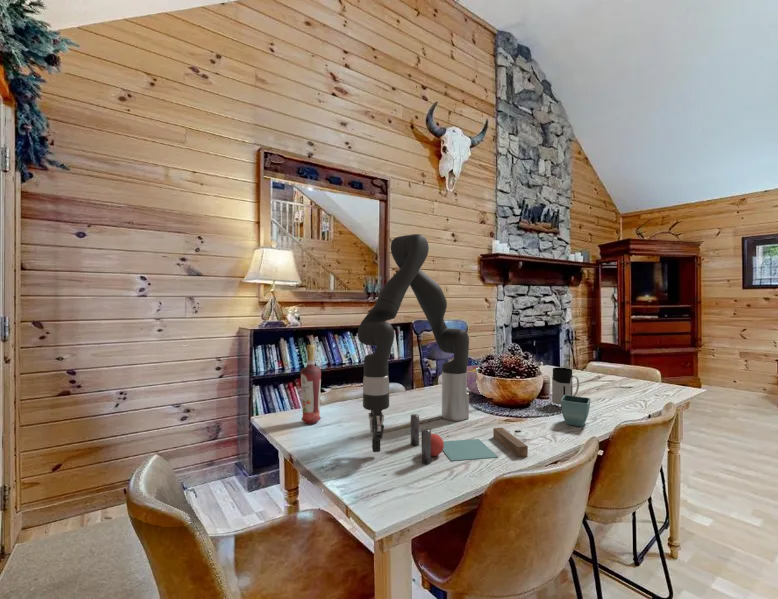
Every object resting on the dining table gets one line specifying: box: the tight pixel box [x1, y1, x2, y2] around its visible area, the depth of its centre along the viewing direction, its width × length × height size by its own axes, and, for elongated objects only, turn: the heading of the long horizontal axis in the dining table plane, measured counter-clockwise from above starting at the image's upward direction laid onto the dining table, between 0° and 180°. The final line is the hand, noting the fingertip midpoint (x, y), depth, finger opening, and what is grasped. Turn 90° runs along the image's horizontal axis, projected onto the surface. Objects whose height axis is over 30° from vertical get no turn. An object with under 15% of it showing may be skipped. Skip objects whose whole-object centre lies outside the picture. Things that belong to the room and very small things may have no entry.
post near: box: [421, 428, 432, 465], centre depth 109 cm, size 3×3×9 cm
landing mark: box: [442, 438, 499, 462], centre depth 118 cm, size 14×14×1 cm
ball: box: [431, 433, 444, 457], centre depth 114 cm, size 6×6×6 cm
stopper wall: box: [492, 427, 529, 458], centre depth 120 cm, size 3×16×3 cm, turn 10°
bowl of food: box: [467, 365, 480, 396], centre depth 182 cm, size 20×20×12 cm
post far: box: [410, 413, 420, 447], centre depth 122 cm, size 3×3×9 cm
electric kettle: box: [551, 366, 580, 404], centre depth 162 cm, size 9×14×15 cm, turn 12°
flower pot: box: [560, 395, 591, 427], centre depth 141 cm, size 9×9×9 cm
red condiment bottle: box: [300, 344, 322, 425], centre depth 143 cm, size 7×7×28 cm
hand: (376, 451), depth 113 cm, fingers closed
